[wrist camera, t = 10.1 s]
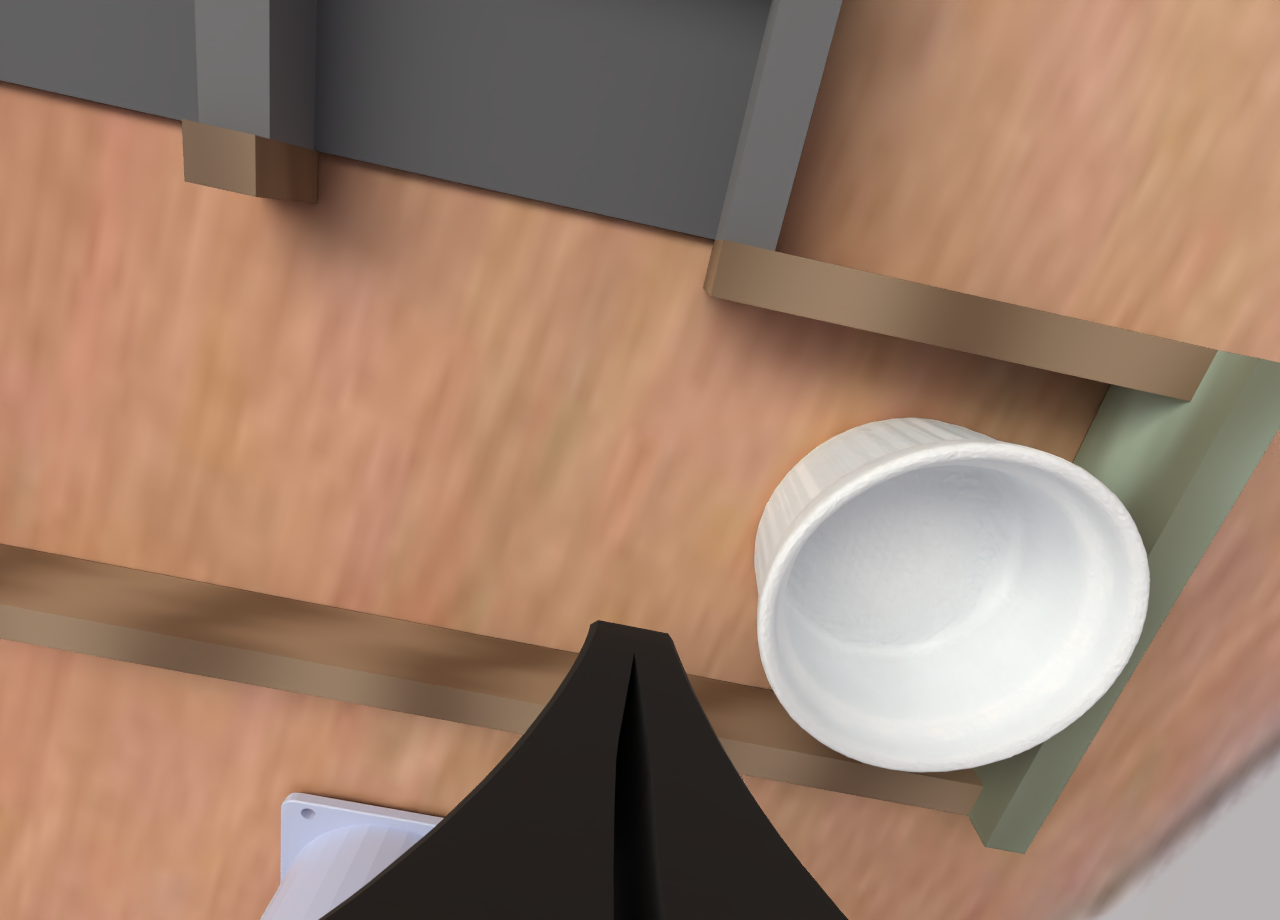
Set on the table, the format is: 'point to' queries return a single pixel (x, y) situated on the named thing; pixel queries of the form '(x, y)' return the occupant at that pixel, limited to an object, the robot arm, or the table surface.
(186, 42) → the grey e-shaped block
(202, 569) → the table surface
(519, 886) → the robot arm
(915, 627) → the ramekin
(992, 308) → the walnut channel
